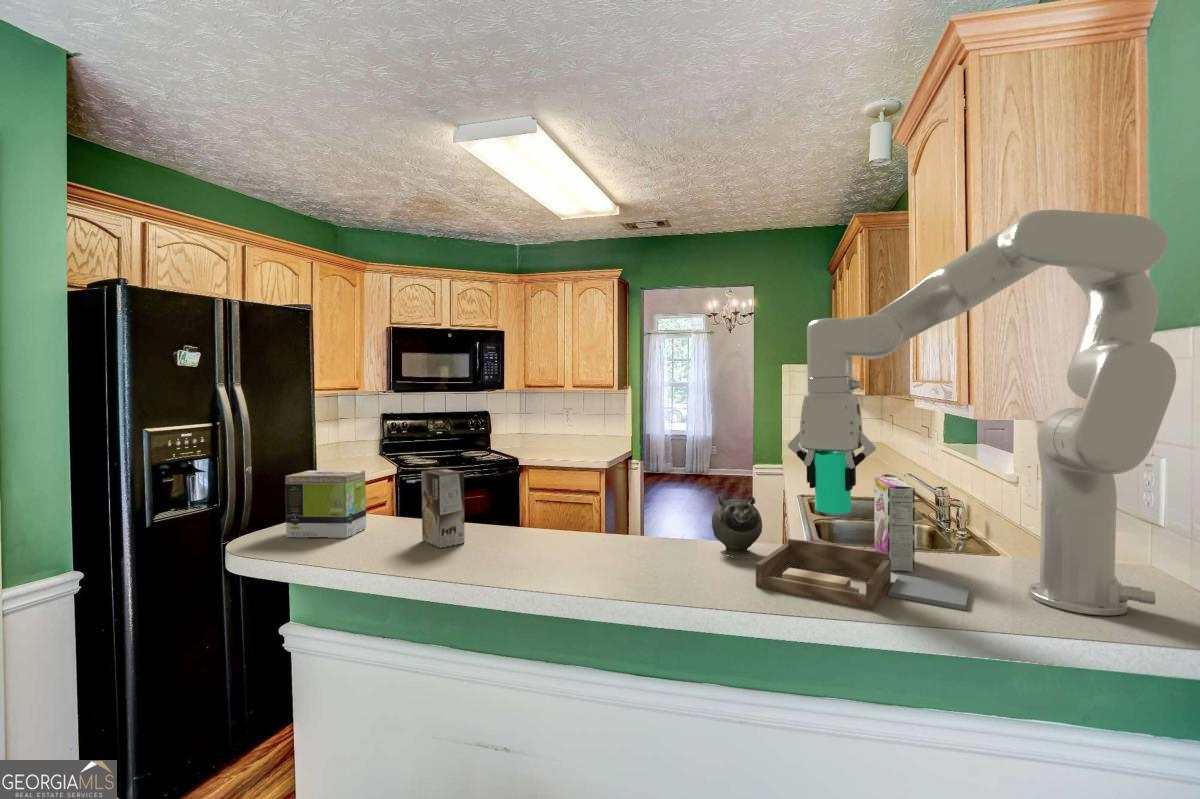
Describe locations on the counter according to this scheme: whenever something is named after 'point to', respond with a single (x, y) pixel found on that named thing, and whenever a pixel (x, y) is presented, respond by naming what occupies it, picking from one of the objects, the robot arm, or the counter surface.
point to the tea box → (325, 503)
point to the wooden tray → (828, 560)
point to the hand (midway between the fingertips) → (831, 487)
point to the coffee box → (443, 507)
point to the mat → (931, 591)
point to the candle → (831, 483)
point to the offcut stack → (819, 579)
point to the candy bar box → (895, 522)
